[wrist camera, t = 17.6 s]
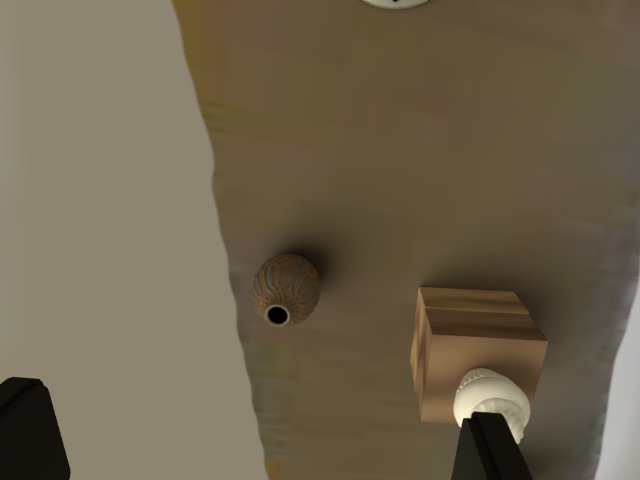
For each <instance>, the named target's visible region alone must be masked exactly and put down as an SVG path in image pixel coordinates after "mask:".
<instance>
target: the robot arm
mask: <svg viewBox="0 0 640 480" xmlns="http://www.w3.org/2000/svg"><path fill="white" fill-rule="evenodd" d="M362 1H364V2H366V3H368V4H370V5H373V6H376V7H379V8H383V9H395V10H399V9H405V8H412V7H415V6H418V5H420V4H423V3H426V2H427V1H429V0H398V1H397V2H394V1H393V0H362ZM69 479H70V467H69V463H68V460H67V456H66V452H65V448H64V445H63V441H62V438H61V434H60V431H59V426H58V423H57V419H56V416H55V412H54V409H53V404H52V401H51V397H50V394H49V390H48V388H47V387H45V386H44V385H43V383H42V381H41V380H39V379H34V378H20V377H12V378H8V379H7V380H5V381H4V382H2V383H1V384H0V480H69ZM451 480H533V479H532V476H531V474H530V472H529V470H528V467H527V465H526V463H525V461H524V459H523V456H522V454H521V452H520V450H519V448H518V445H517V443H516V441H515V439H514V437H513V434H512V432H511V430H510V428H509V426H508V423H507V421H506V419H505V417H504V416H503V415H502V414H501V413H491V412H478V411H473V413H472V415H471V418H464V419H463V421H462V425H461V431H460V436H459V441H458V447H457V452H456V457H455V462H454V468H453V473H452V478H451Z"/></svg>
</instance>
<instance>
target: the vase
mask: <svg viewBox="0 0 640 480" xmlns="http://www.w3.org/2000/svg"><path fill="white" fill-rule="evenodd" d="M319 297H320V279H319V276H318V273H317V271H316V269H315V268H314V266H313V265H312V264H311V263H310V262H309V261H308V260H306V259H305V258H303V257H301V256H299V255H296V254H280V255H277V256H274V257H272V258H270V259H269V260H268V261H266V262H265V263H264V264H263V265H262V266H261V267H260V269H259V270H258V272H257V274H256V276H255V278H254V281H253V285H252V299H253V303H254V306H255V308H256V310H257V312H258V313H259V315H260V316H261V317H262V318H263V319H264V320H266V321H267V322H268V323H269V324H271V325H272V326H275V327H282V326H284V327H286V326H293V325H296V324H298V323H300V322H302V321H304V320H305V319H306V318H307V317H308V316H309V315H310V314H311V313H312V312H313V311H314V309H315V307H316V305H317V303H318V301H319Z"/></svg>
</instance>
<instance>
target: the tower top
mask: <svg viewBox="0 0 640 480" xmlns="http://www.w3.org/2000/svg"><path fill="white" fill-rule="evenodd" d="M548 342H549V341H548V340H547V338H546V337H545V336H544V334H543V333H542V332H541V331H540V329H539V328H538V327H537V325H536V324H535V323H534V321H533V320H532V319H531V317H530V316H529V315H528V314H515V313H496V312H478V311H460V310H442V309H424V317H423V325H422V333H421V341H420V349H419V356H418V364H417V372H416V380H415V388H414V390H415V395H416V400H417V405H418V410H419V415H420V420H421V421H426V422H440V423H454V424H458V423H457V421H456V419H455V416H454V410H453V407H454V401H455V397H456V392H457V390H458V387H459V385H460V383H461V381H462V379H463V377H464V376H465V374H467V372H470V370H473V369H476V368H478V369H479V368H485V369H490V370H492V371H494V372H496V373H498V374H500V375H502V376H505V377H507V378H509V380H511V381H513V382H514V384H516V385H517V386H518V387H519V388H520V389H521V390H522V391H523V392H524V393H525V395H526V396H527V398H528V401H529V404H530V411H531V407H532V403H533V400H534V396H535V392H536V388H537V384H538V380H539V377H540V373H541V369H542V365H543V361H544V357H545V354H546V350H547V346H548ZM526 426H527V424H526ZM526 426H525V427H524V429H526Z"/></svg>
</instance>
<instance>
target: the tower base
mask: <svg viewBox="0 0 640 480" xmlns="http://www.w3.org/2000/svg"><path fill="white" fill-rule="evenodd" d="M424 309H442V310H460V311H478V312H496V313H515V314H528V315H529V311H528V310H527V308H526V307H525V306H524V304H523V303H522V302H521V301H520V299H519V298H518V297H517V295H516V294H515V293H514V292H510V291H490V290H471V289H451V288H431V287H419V292H418V300H417V309H416V317H415V326H414V335H413V343H412V352H411V360H410V364H411V369H412V374H413V379H414V384H415V380H416V372H417V364H418V356H419V349H420V341H421V333H422V325H423V317H424Z"/></svg>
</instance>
